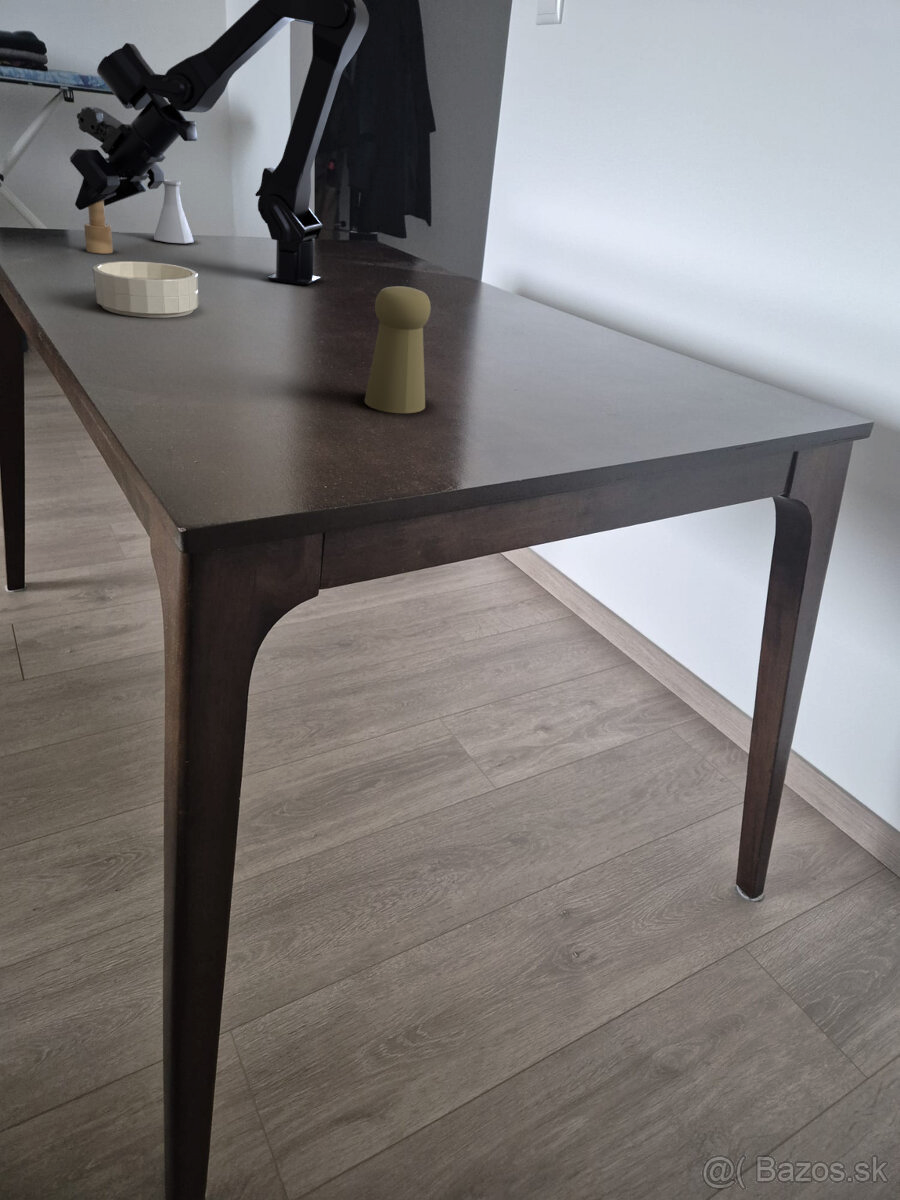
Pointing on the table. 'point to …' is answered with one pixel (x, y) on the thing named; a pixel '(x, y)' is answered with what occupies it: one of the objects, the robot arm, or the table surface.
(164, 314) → the bowl
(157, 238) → the flask
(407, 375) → the cork
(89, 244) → the pestle
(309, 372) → the table surface
